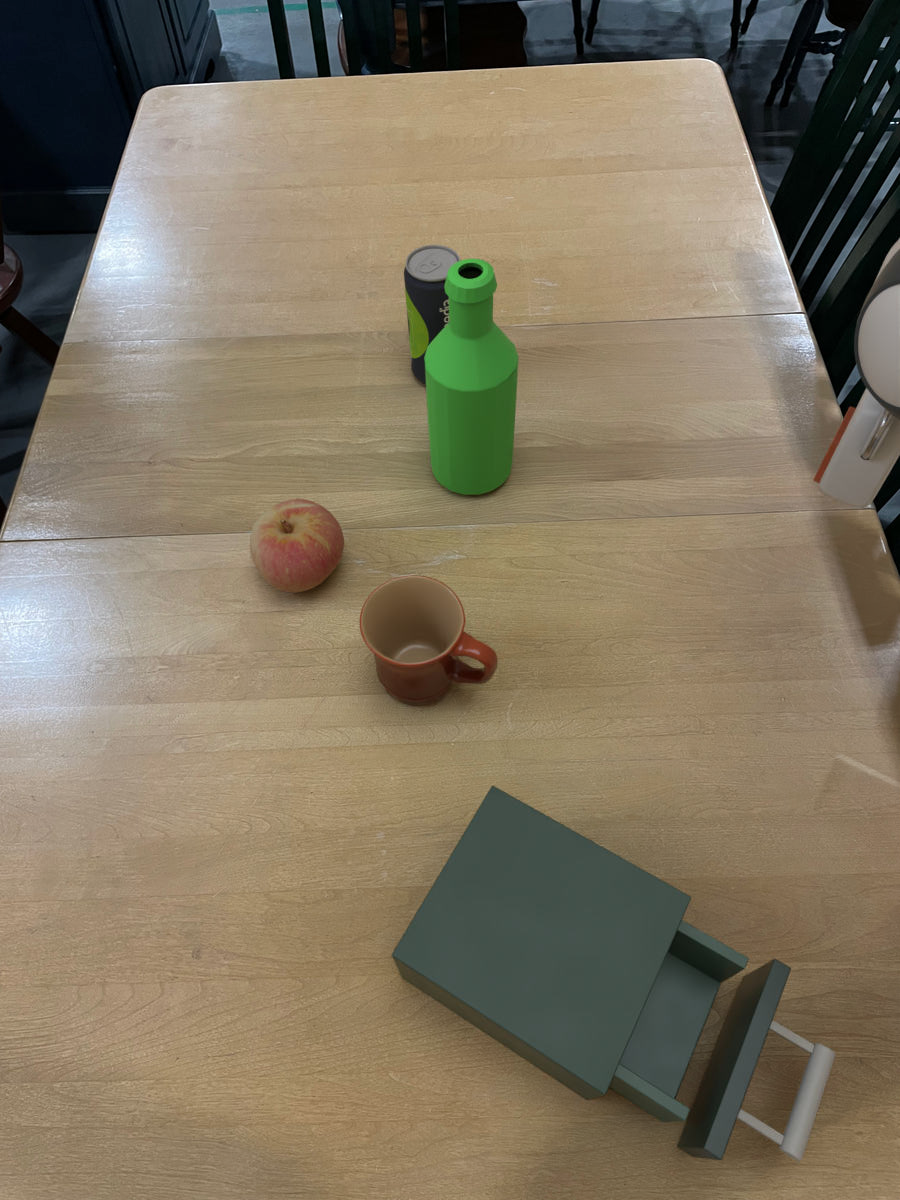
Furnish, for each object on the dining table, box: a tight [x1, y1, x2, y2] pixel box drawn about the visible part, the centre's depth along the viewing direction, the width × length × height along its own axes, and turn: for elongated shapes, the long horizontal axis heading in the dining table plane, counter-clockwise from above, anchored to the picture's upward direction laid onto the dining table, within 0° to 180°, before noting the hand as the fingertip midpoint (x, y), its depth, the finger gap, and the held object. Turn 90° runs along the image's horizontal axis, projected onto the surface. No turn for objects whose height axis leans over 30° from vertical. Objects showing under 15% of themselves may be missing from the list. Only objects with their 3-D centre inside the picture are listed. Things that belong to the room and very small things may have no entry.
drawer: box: [608, 919, 836, 1163], centre depth 59 cm, size 20×13×8 cm, turn 59°
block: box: [812, 406, 857, 484], centre depth 67 cm, size 4×4×4 cm
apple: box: [249, 498, 345, 593], centre depth 82 cm, size 9×9×8 cm
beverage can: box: [403, 244, 462, 385], centre depth 94 cm, size 6×6×15 cm
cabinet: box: [391, 785, 692, 1101], centre depth 62 cm, size 16×14×10 cm
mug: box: [359, 574, 499, 707], centre depth 74 cm, size 12×9×10 cm
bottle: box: [424, 258, 519, 496], centre depth 82 cm, size 9×9×25 cm
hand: (856, 459), depth 68 cm, fingers closed on block, 4 cm apart
